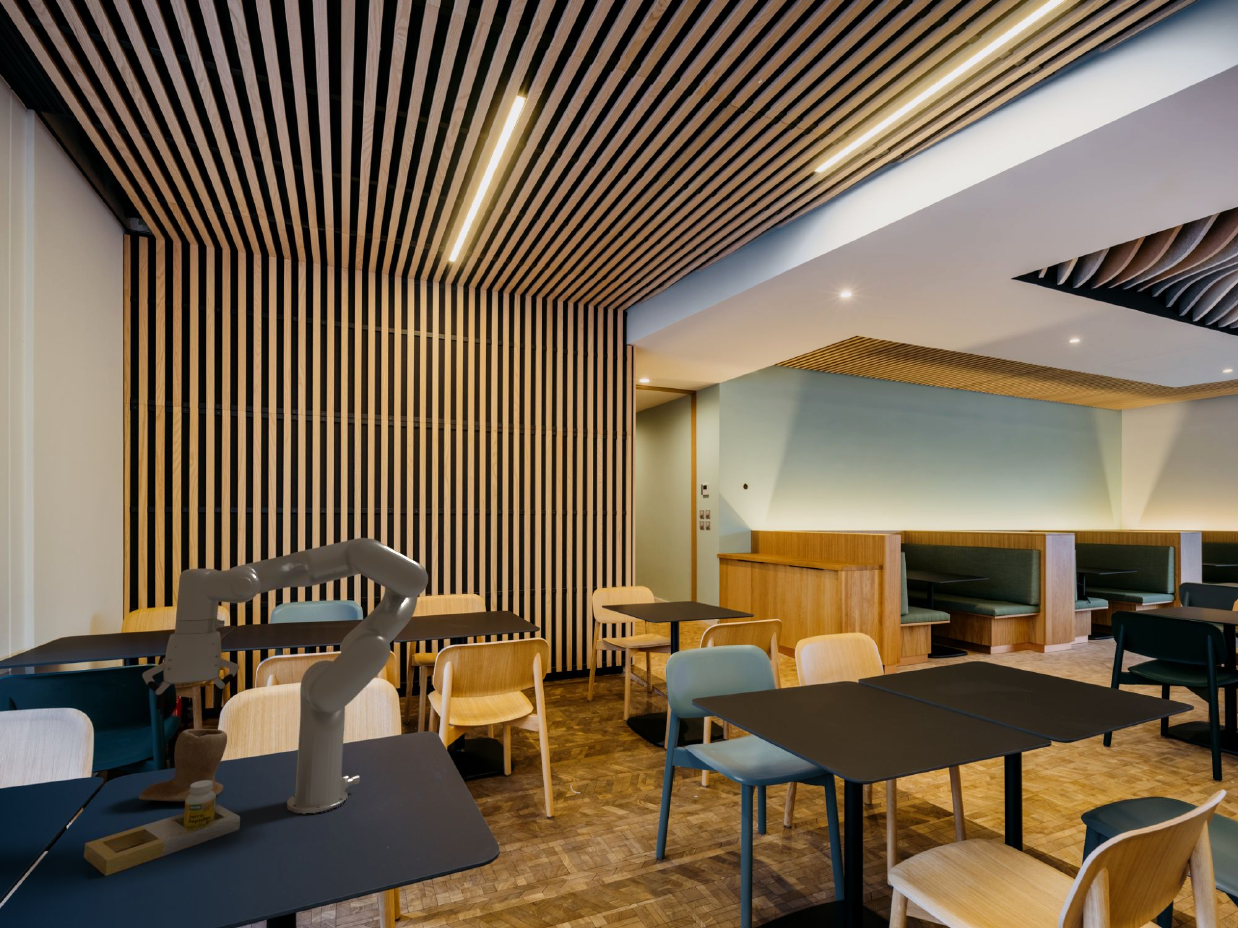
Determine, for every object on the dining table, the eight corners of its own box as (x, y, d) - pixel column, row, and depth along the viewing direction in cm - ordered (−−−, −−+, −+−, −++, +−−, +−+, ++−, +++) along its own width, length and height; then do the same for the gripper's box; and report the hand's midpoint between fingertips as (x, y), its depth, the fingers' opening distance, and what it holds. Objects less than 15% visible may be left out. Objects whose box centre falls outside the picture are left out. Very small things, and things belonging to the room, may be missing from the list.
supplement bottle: (213, 823, 139) (216, 776, 140) (214, 833, 135) (217, 785, 136) (182, 829, 136) (186, 781, 137) (182, 840, 132) (186, 790, 133)
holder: (214, 815, 143) (215, 803, 143) (239, 829, 137) (240, 816, 137) (84, 857, 124) (85, 842, 125) (105, 875, 118) (107, 860, 118)
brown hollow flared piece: (235, 787, 159) (239, 723, 160) (204, 808, 147) (209, 738, 148) (172, 786, 159) (177, 722, 160) (136, 807, 147) (142, 737, 148)
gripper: (241, 622, 149) (235, 700, 147) (147, 627, 139) (139, 710, 137) (243, 626, 142) (237, 708, 141) (145, 632, 133) (137, 719, 131)
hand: (189, 709), depth 139 cm, fingers open, 9 cm apart
